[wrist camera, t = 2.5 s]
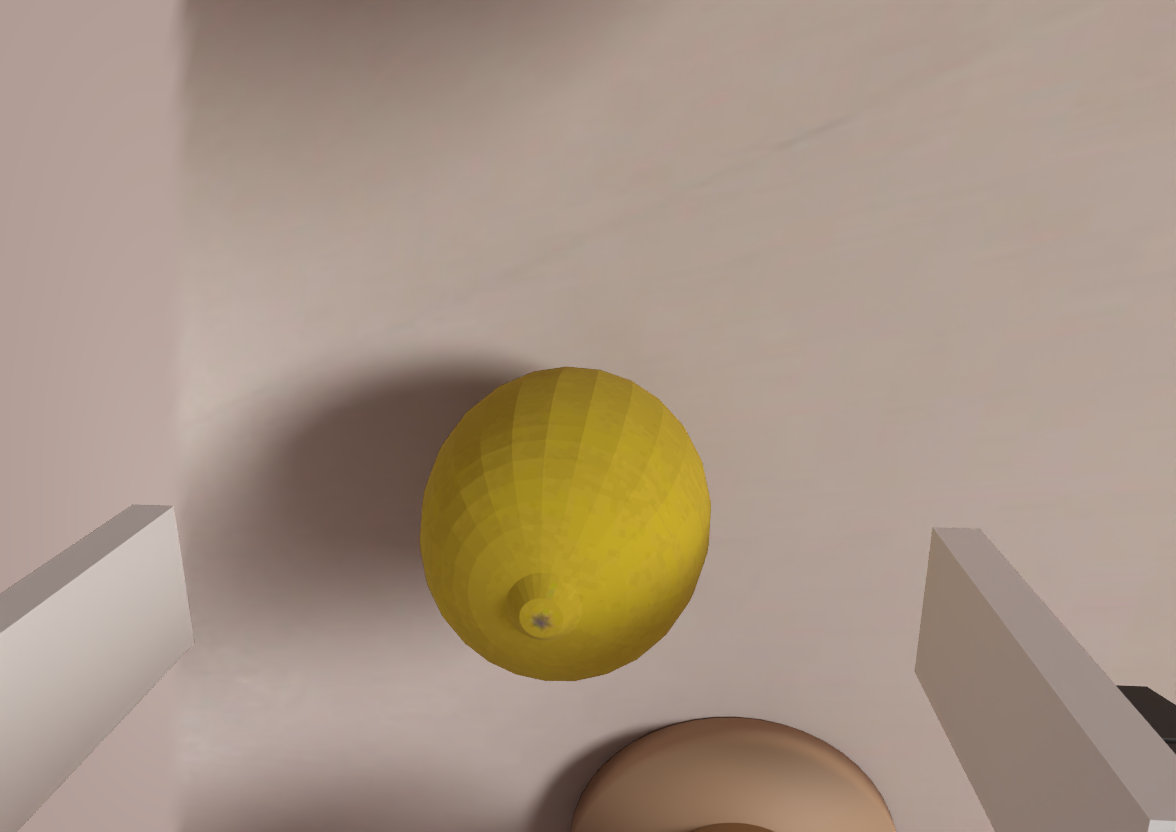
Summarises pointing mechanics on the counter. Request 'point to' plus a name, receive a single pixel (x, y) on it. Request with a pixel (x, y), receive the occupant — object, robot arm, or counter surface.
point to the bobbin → (731, 783)
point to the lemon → (565, 524)
